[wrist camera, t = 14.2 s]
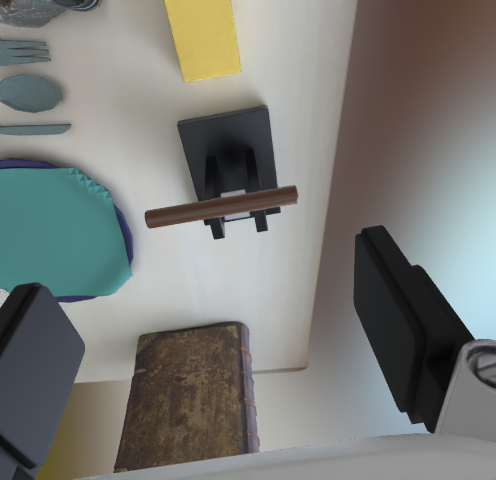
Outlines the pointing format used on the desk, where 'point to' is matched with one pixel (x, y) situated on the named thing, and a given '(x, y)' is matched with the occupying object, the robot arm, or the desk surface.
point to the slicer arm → (222, 206)
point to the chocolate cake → (39, 10)
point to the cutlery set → (54, 206)
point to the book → (189, 399)
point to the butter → (204, 38)
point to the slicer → (230, 159)
